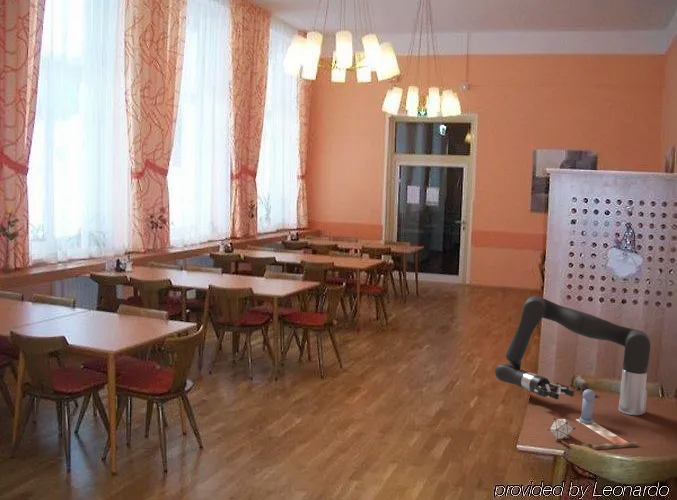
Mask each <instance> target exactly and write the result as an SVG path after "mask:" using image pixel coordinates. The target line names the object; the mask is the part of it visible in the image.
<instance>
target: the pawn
mask: <svg viewBox="0 0 677 500" xmlns="http://www.w3.org/2000/svg"><path fill="white" fill-rule="evenodd" d="M581 395H582V402H581V403H582V404H581V415H580V417H579V419H580V420H579V421H580V422H581V423H580V422H579V421H578V422H579V423H580V424H582V423H584V424H592V425H594V424H593V422H594V418H593V415H594V404H595V399H596V393H595V391H594V390H593V389H586V390H585V389H584V391H583V394H581Z"/></svg>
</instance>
